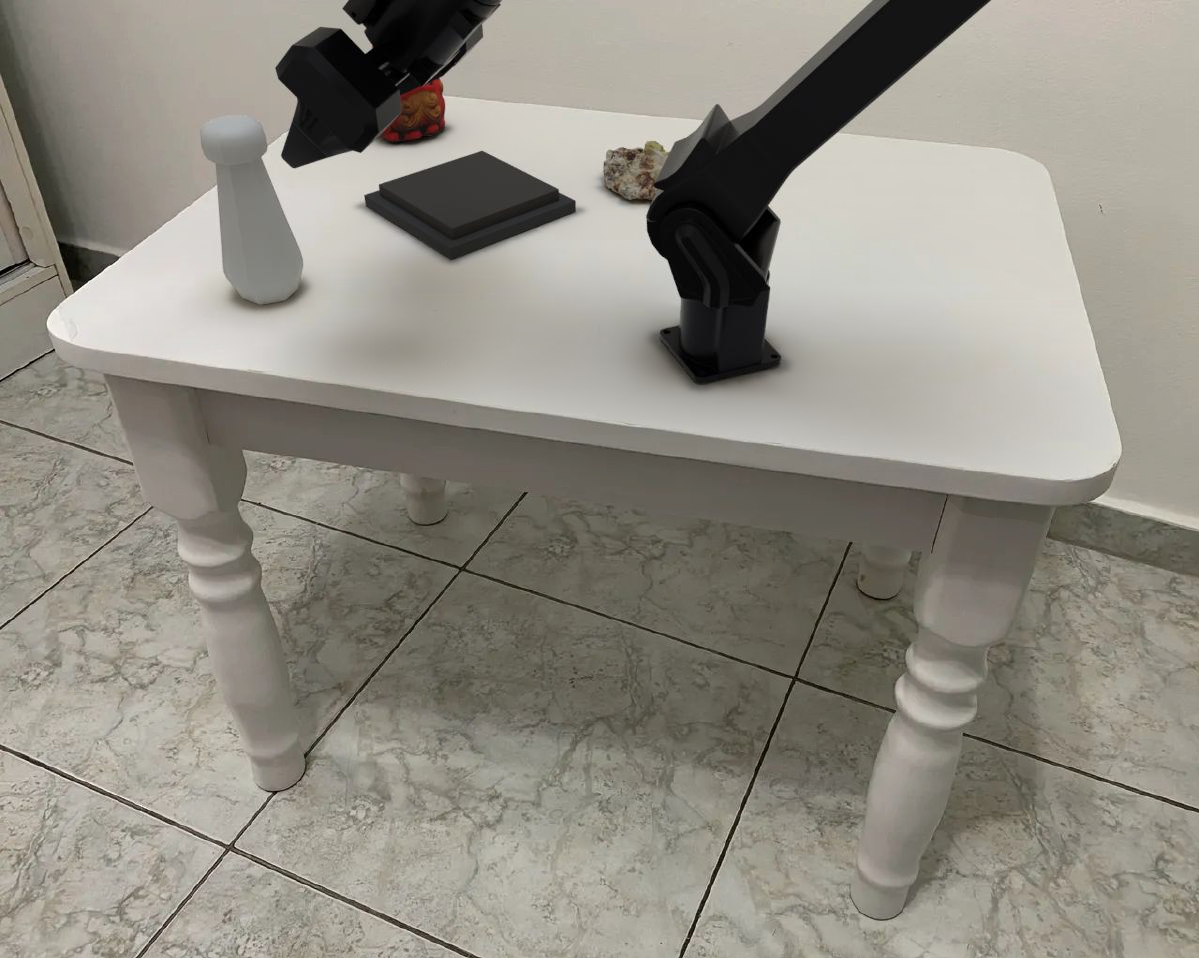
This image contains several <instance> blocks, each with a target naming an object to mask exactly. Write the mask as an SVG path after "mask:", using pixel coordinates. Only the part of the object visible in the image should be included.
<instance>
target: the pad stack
mask: <svg viewBox="0 0 1199 958" xmlns="http://www.w3.org/2000/svg"><path fill="white" fill-rule="evenodd" d="M363 196H364V203H365V206H366V207H367V208H369V209H371V210H372V211H374V212H375V213H377V214H378V215H380V216H381V217H383V218H385V219H386V220H388V221H389V222H391V223H393V224H394V225H396V226H398V227H399V228H400V229H402V230H403V231H405V232H407V233H408V234H410V235H412V236H413V237H415V238H416V239H418V240H420V241H422V242H423V243H424V244H426V245H427V246H429V247H431V248H433V249H434V250H436V251H437V252H439V253H441V254H442V255H444V256H445V257H447V258H448V259H450V260H453V259H457V258H459V257H462V256H464V255H467V254H469V253H472V252H474V251H477V250H479V249H482V248H485V247H488V246H490V245H493V244H495V243H498V242H500V241H503V240H506V239H509V238H510V237H514V236H516V235H518V234H521V233H524V232H526V231H528V230H531V229H534V228H537V227H539V226H542V225H544V224H547V223H549V222H552V221H555V220H557V219H559V218H562V217H565V216H567V215H571V214H572V213H575V212H576V211H577V205H576V203H577V201H576V200H575V199H573V198H571V197H569V196H567V195H566V194H563V193H561V192H560V189H559V188H558V187H555V186H553V185H552V184H550V183H547V182H546V181H544V180H542V179H539V178H537V177H535V176H533V175H532V174H530V173H528V172H526V171H524V170H522V169H520V168H517V167H516V166H514V165H512V164H509V163H508V162H507V161H504V160H501V159H500V158H499V157H496V156H494V155H492V154H490V153H488V152H486V151H484V150H480V151H477V152H474V153H470V154H467V155H465V156H461V157H458V158H455V159H452V160H450V161H446V162H443V163H440V164H437V165H434V166H431V167H428V168H424V169H421V170H419V171H415V172H412V173H409V174H406V175H403V176H400V177H397V178H394V179H391V180H388V181H385V182H382V183H379V184H378V189H377V190H376V191H375V190H374V191H372V192H369V193H366V194H364V195H363Z"/></svg>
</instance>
